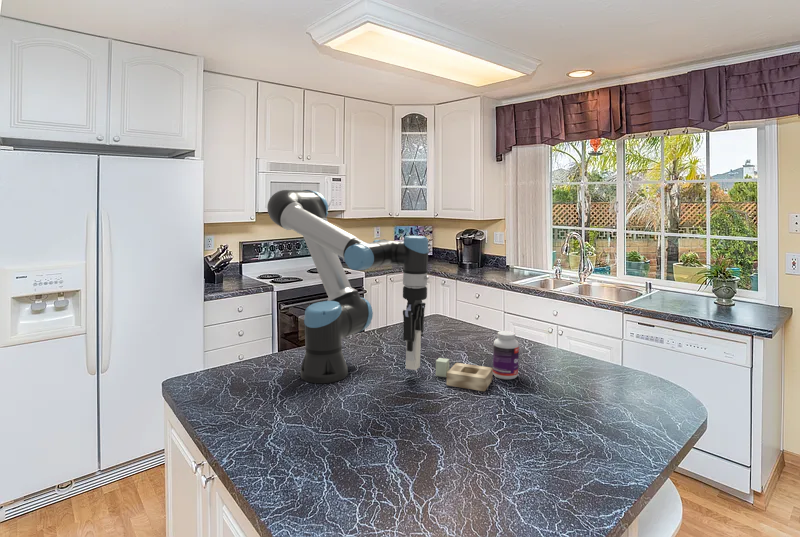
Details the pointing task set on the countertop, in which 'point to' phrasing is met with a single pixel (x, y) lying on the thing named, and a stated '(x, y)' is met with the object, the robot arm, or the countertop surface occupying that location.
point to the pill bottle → (505, 355)
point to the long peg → (415, 364)
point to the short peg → (442, 367)
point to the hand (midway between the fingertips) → (413, 358)
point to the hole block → (469, 376)
